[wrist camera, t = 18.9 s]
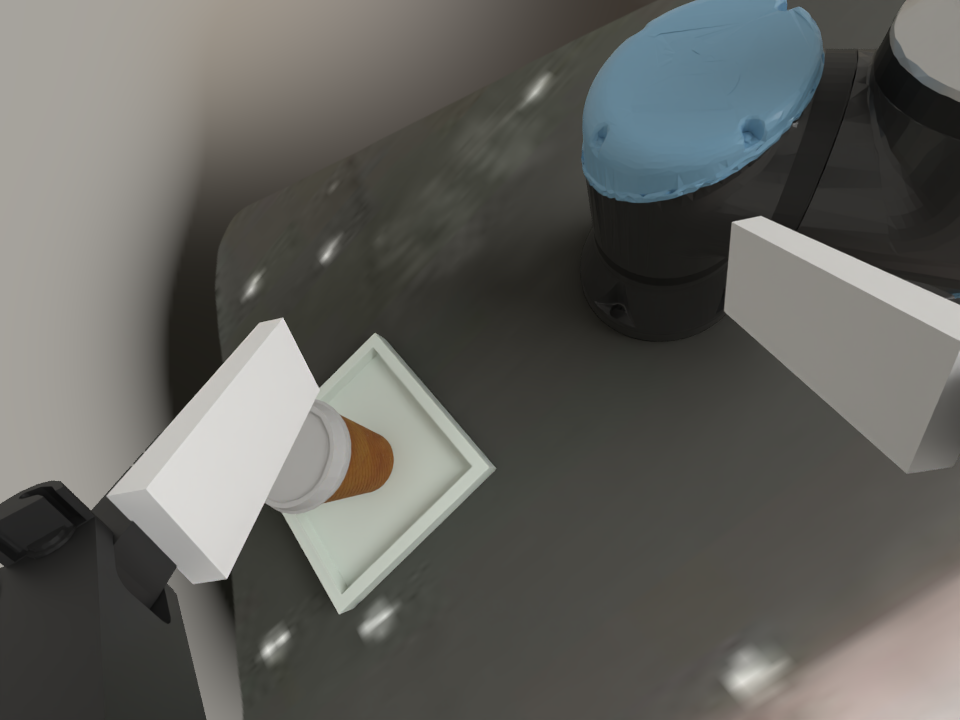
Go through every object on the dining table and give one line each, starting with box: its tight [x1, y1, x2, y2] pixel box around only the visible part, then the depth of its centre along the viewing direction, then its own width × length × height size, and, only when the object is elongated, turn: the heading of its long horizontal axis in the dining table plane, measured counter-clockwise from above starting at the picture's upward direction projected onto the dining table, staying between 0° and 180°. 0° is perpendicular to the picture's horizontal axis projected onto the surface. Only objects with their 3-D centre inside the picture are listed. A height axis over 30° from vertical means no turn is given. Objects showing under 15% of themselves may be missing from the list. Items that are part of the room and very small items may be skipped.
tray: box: [282, 333, 496, 614], centre depth 47 cm, size 20×20×2 cm
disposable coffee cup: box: [265, 399, 394, 514], centre depth 41 cm, size 10×10×12 cm
